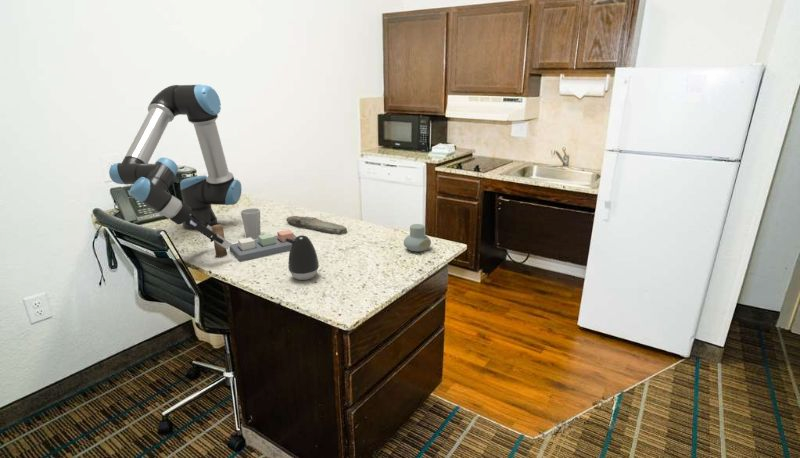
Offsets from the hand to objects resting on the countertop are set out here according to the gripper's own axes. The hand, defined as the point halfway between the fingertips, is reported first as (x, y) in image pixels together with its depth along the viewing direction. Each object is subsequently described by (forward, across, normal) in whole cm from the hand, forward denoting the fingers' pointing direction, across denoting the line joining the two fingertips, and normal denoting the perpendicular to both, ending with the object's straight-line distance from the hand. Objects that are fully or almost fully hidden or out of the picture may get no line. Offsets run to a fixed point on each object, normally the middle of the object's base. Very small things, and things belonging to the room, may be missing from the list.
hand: (224, 241), depth 168 cm
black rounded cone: (+16, +38, +8) cm, 42 cm away
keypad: (+14, +4, +7) cm, 17 cm away
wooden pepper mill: (+2, 0, -5) cm, 6 cm away
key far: (+18, +4, +14) cm, 24 cm away
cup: (+15, -14, +7) cm, 21 cm away
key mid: (+13, +4, +9) cm, 16 cm away
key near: (+7, +4, +3) cm, 9 cm away
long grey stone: (+35, -11, +26) cm, 45 cm away
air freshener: (+49, +40, +41) cm, 76 cm away
